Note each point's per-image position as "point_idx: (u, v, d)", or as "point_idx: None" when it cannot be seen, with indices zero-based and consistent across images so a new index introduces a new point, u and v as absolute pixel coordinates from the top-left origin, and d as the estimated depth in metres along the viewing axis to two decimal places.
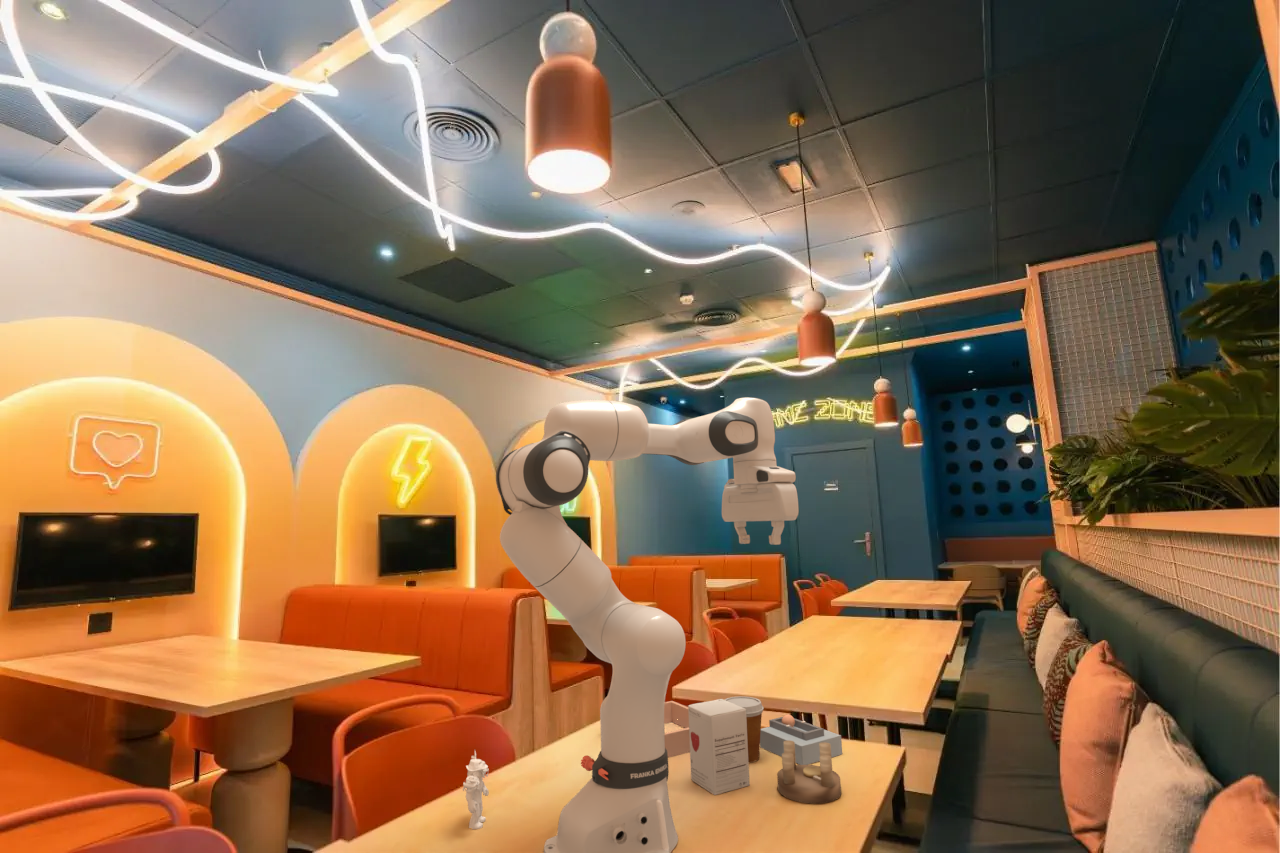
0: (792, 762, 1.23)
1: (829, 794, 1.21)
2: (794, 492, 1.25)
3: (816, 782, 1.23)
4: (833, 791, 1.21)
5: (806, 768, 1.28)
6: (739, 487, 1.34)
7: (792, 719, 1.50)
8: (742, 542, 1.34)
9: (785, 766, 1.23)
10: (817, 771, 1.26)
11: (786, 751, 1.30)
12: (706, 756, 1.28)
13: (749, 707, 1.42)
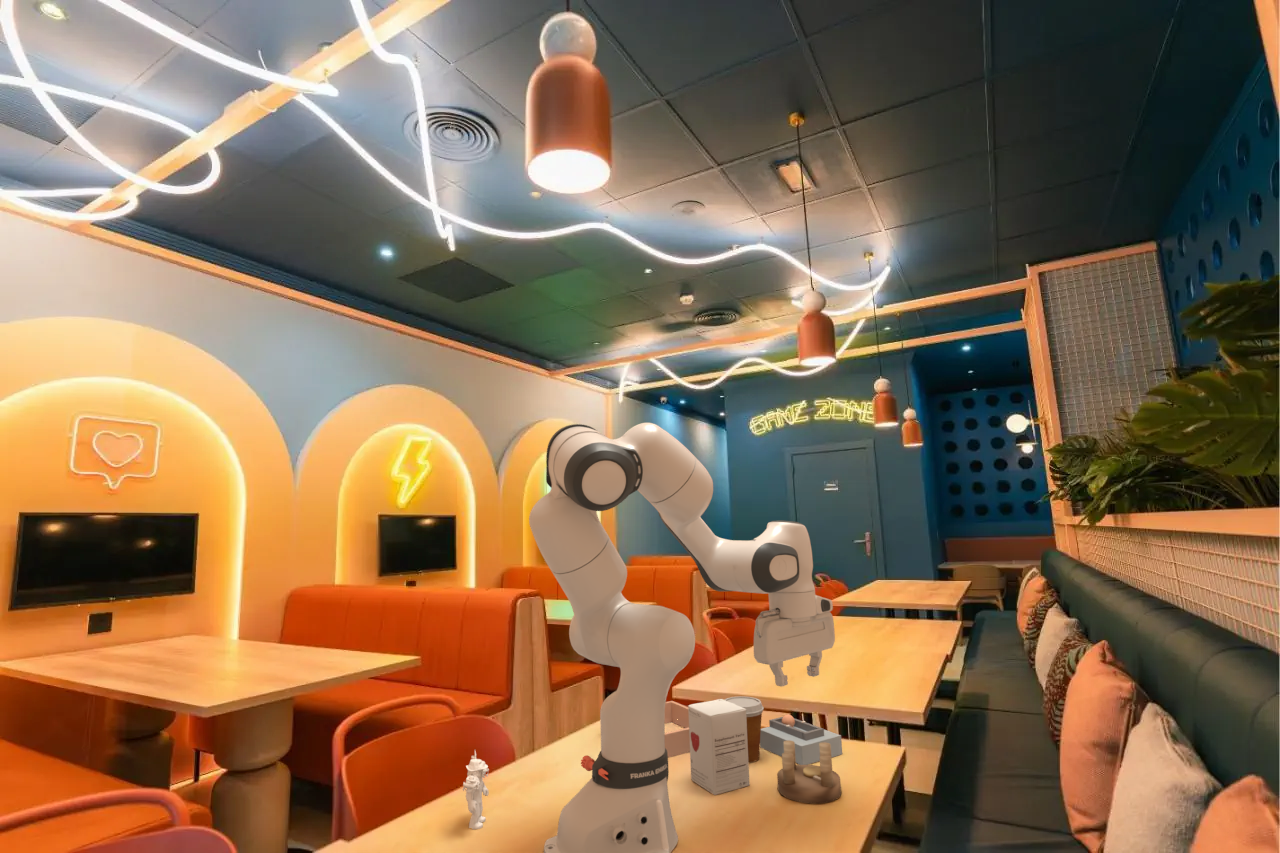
0: (792, 762, 1.23)
1: (829, 794, 1.21)
2: None
3: (816, 782, 1.23)
4: (833, 791, 1.21)
5: (806, 768, 1.28)
6: (789, 620, 1.20)
7: (792, 719, 1.50)
8: (785, 684, 1.18)
9: (785, 766, 1.23)
10: (817, 771, 1.26)
11: (786, 751, 1.30)
12: (706, 756, 1.28)
13: (749, 707, 1.42)
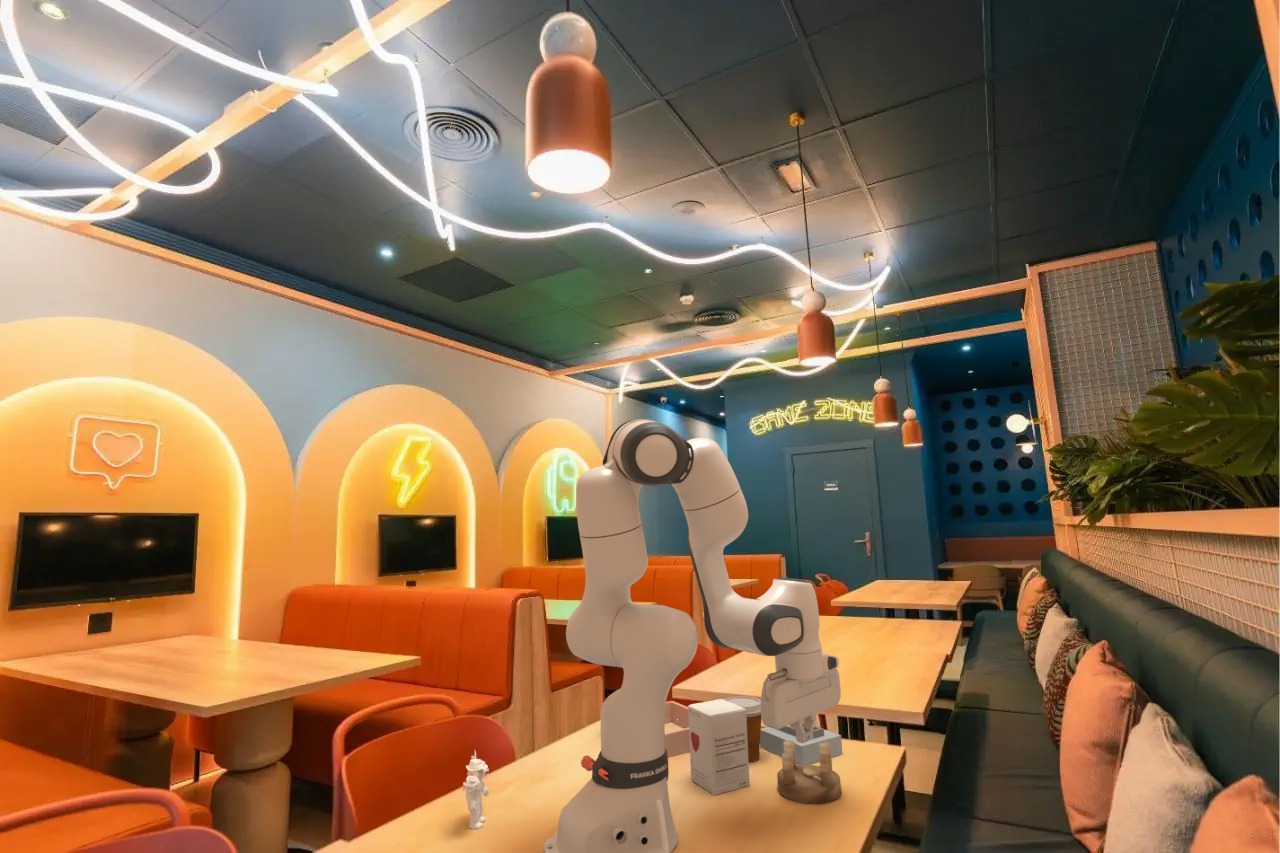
0: (792, 762, 1.23)
1: (829, 794, 1.21)
2: None
3: (816, 782, 1.23)
4: (833, 791, 1.21)
5: (806, 768, 1.28)
6: (796, 681, 1.18)
7: None
8: (806, 740, 1.19)
9: (785, 766, 1.23)
10: (817, 771, 1.26)
11: (786, 751, 1.30)
12: (706, 756, 1.28)
13: (749, 707, 1.42)
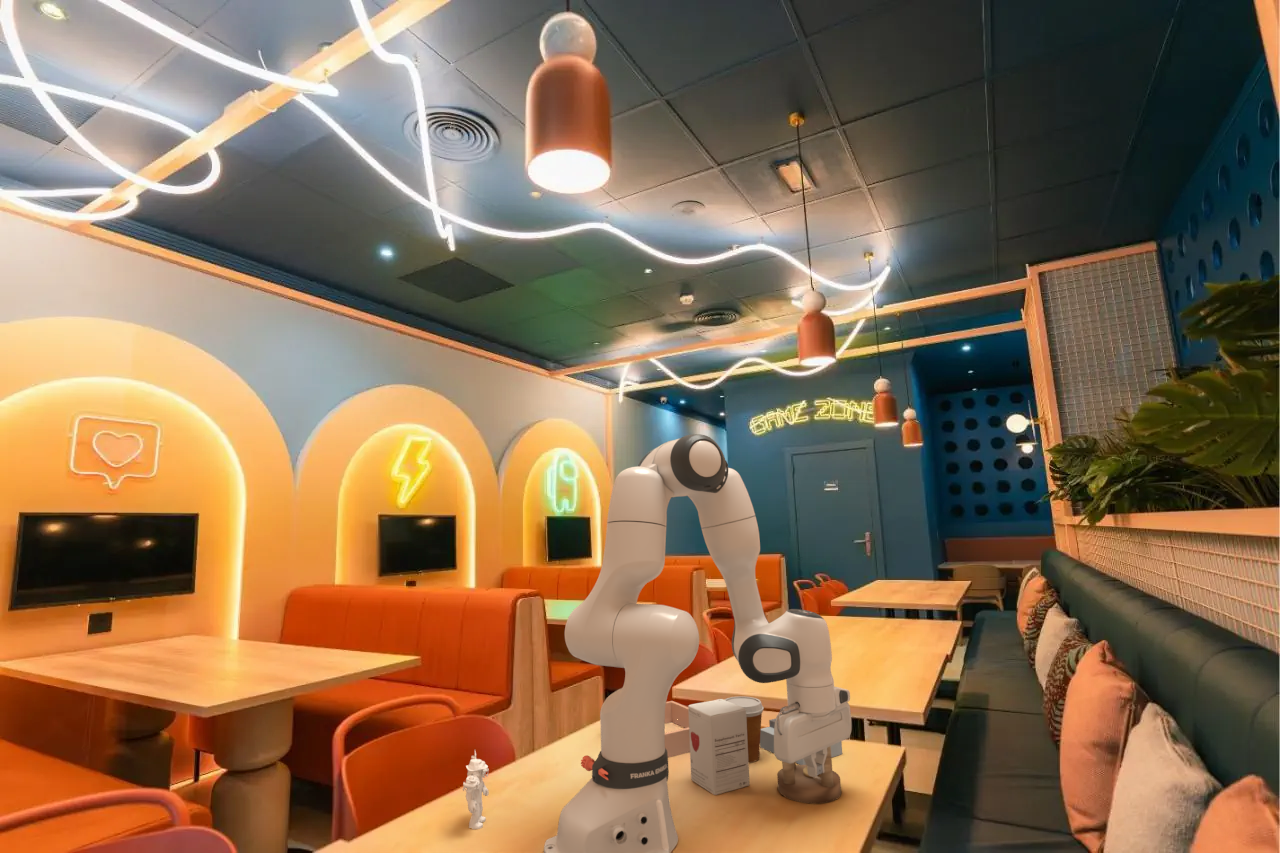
0: None
1: (829, 794, 1.21)
2: None
3: (816, 782, 1.23)
4: (833, 791, 1.21)
5: (806, 768, 1.28)
6: (809, 715, 1.19)
7: None
8: (818, 774, 1.20)
9: (785, 766, 1.23)
10: None
11: None
12: (706, 756, 1.28)
13: (749, 707, 1.42)
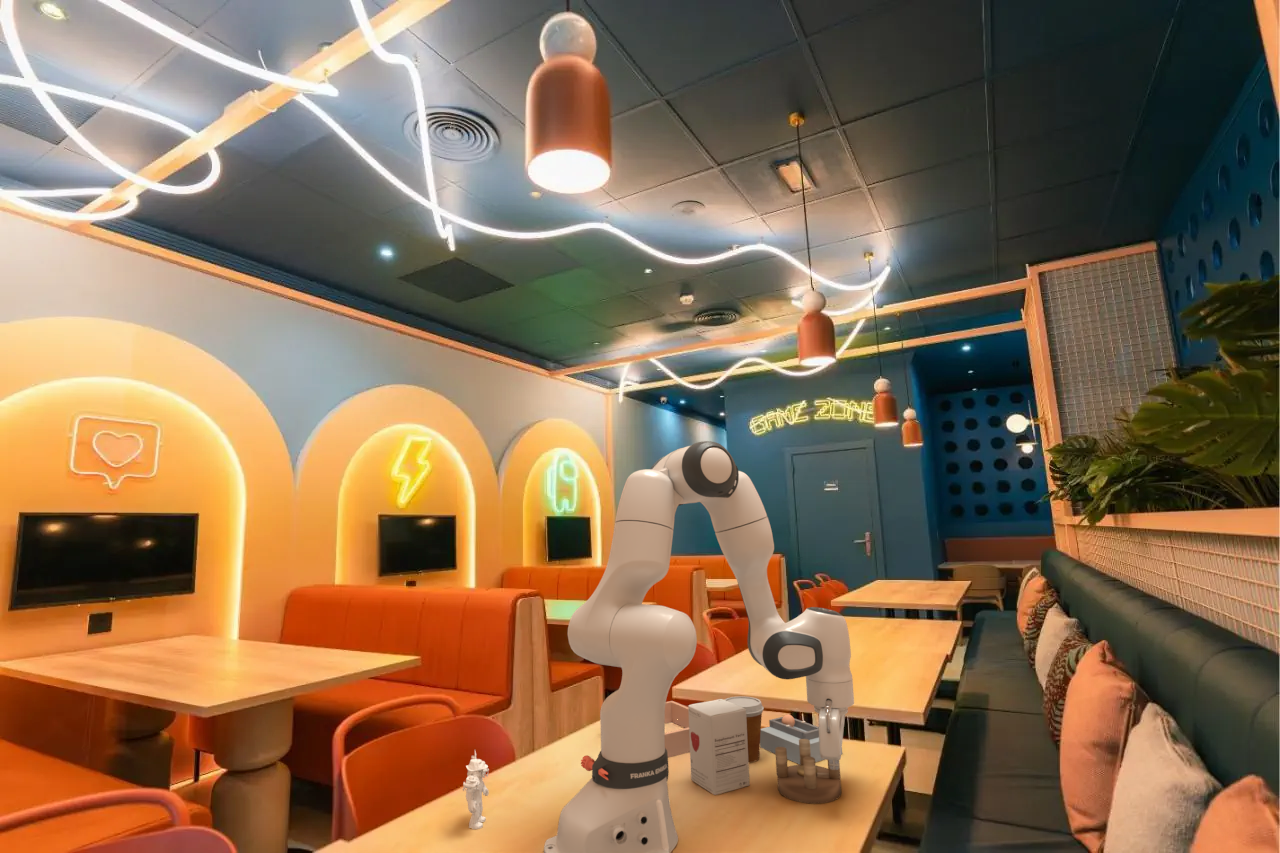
0: None
1: (840, 785, 1.24)
2: None
3: (824, 778, 1.25)
4: None
5: (799, 769, 1.27)
6: (839, 710, 1.22)
7: (792, 719, 1.50)
8: (838, 766, 1.24)
9: (812, 770, 1.21)
10: None
11: (782, 758, 1.26)
12: (706, 756, 1.28)
13: (749, 707, 1.42)
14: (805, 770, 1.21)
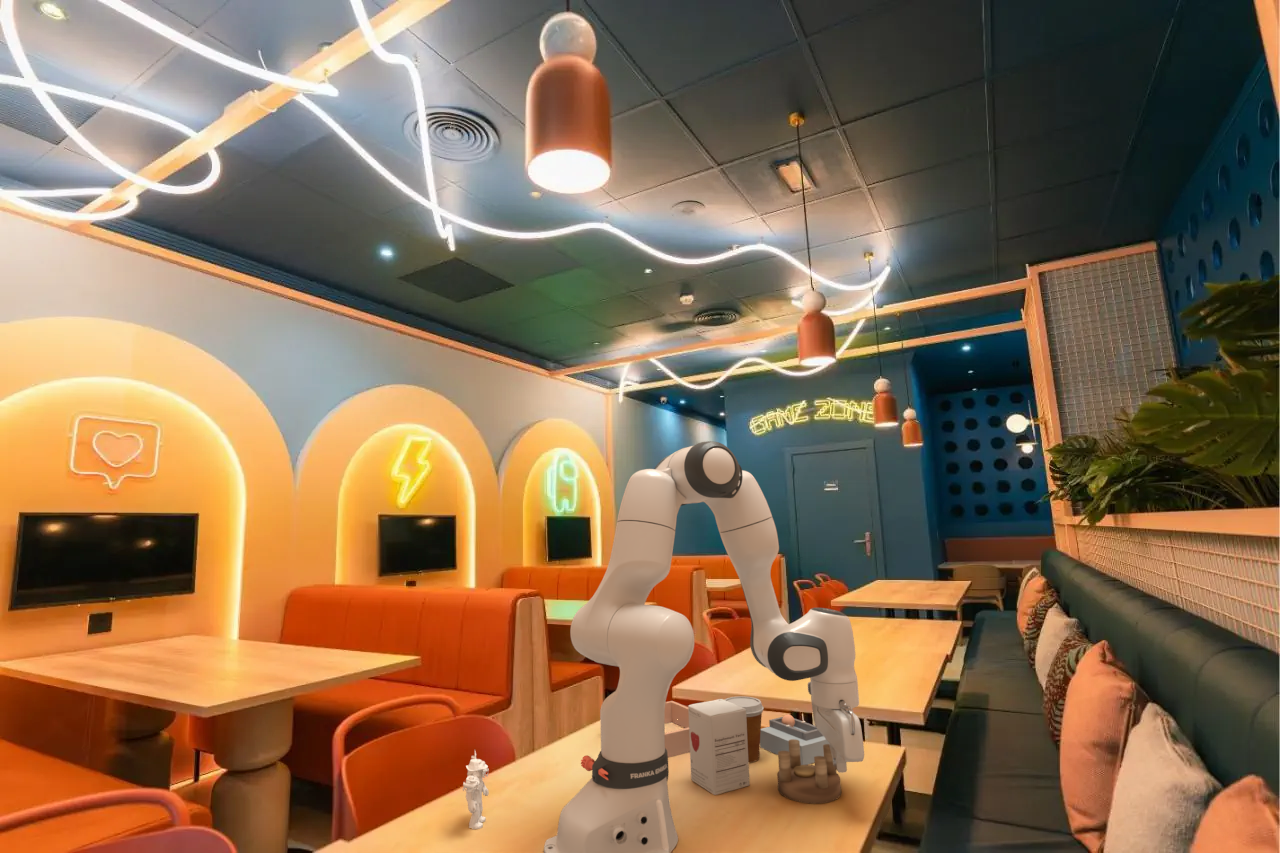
0: None
1: None
2: None
3: None
4: None
5: (798, 771, 1.27)
6: None
7: (792, 719, 1.50)
8: None
9: (825, 769, 1.21)
10: (807, 768, 1.28)
11: (788, 762, 1.24)
12: (706, 756, 1.28)
13: (749, 707, 1.42)
14: (818, 770, 1.21)
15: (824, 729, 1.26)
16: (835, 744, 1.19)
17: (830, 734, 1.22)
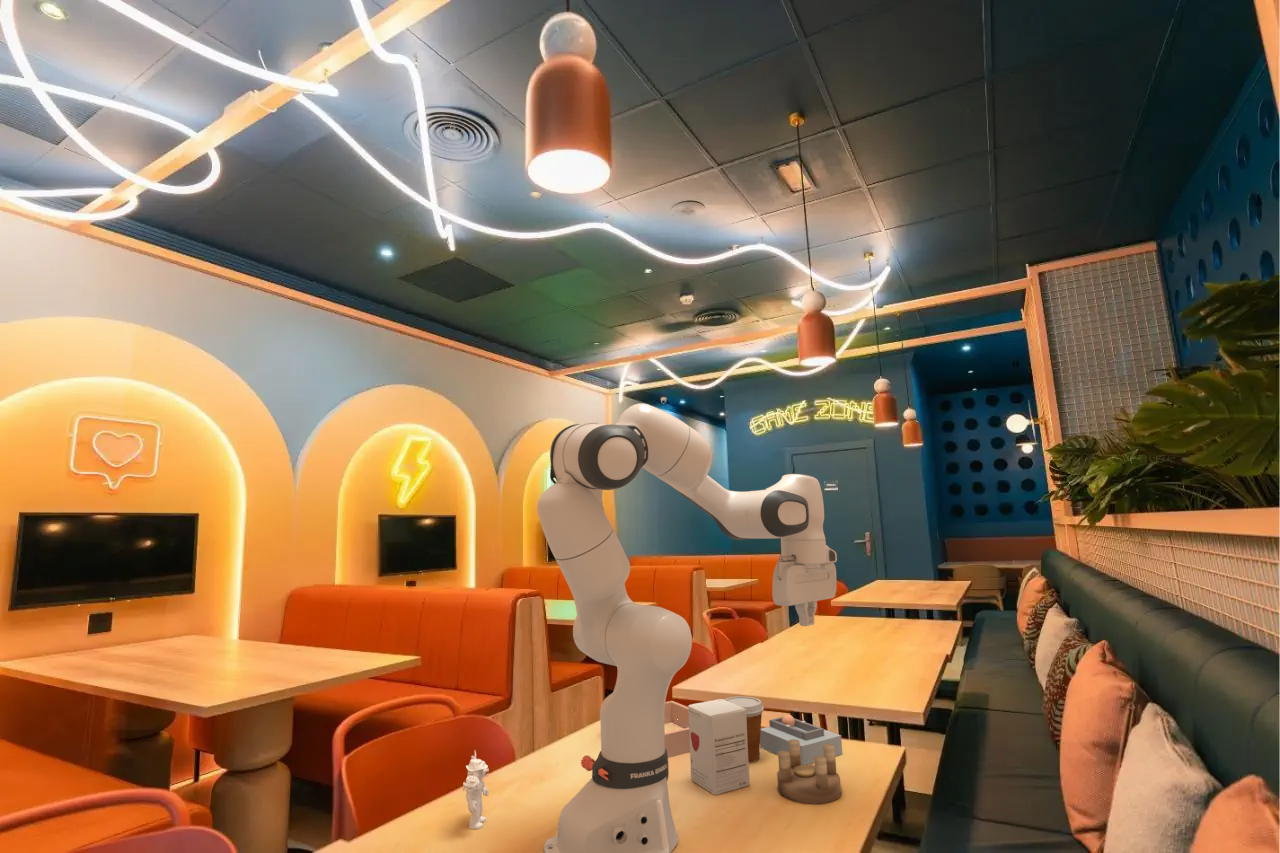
0: None
1: None
2: None
3: None
4: None
5: (798, 771, 1.27)
6: (804, 566, 1.26)
7: (792, 719, 1.50)
8: (809, 624, 1.27)
9: (825, 769, 1.21)
10: (807, 768, 1.28)
11: (788, 762, 1.24)
12: (706, 756, 1.28)
13: (749, 707, 1.42)
14: (818, 770, 1.21)
15: None
16: None
17: None
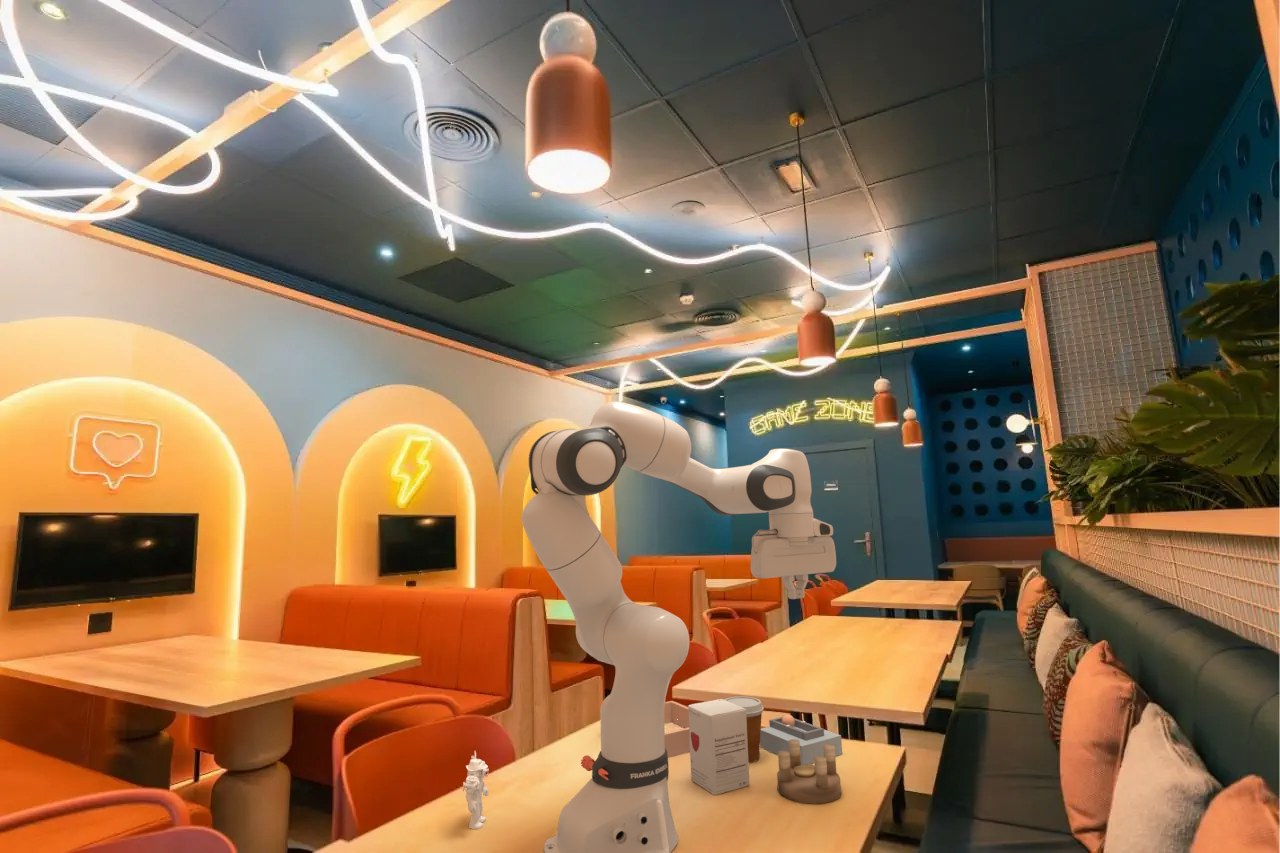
0: None
1: None
2: None
3: None
4: None
5: (798, 771, 1.27)
6: (786, 539, 1.27)
7: (792, 719, 1.50)
8: (797, 597, 1.27)
9: (825, 769, 1.21)
10: (807, 768, 1.28)
11: (788, 762, 1.24)
12: (706, 756, 1.28)
13: (749, 707, 1.42)
14: (818, 770, 1.21)
15: None
16: None
17: None
